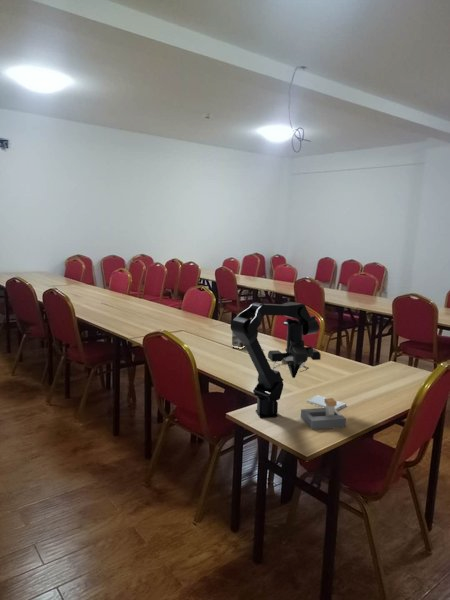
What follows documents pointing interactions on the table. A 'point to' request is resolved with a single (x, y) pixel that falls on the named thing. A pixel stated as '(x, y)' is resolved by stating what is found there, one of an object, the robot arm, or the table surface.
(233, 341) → the coffee box
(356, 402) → the table surface
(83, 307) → the table surface
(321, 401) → the hard drive
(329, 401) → the lever
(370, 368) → the table surface
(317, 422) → the breaker panel
